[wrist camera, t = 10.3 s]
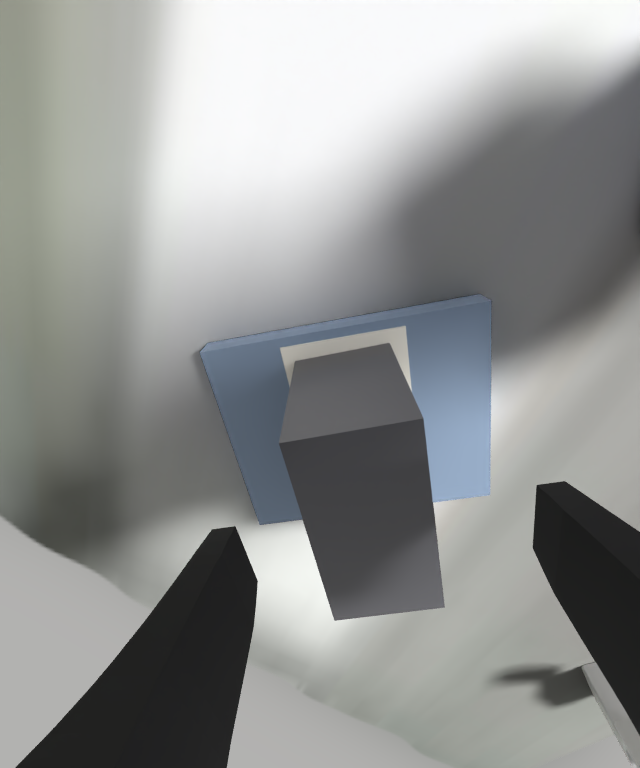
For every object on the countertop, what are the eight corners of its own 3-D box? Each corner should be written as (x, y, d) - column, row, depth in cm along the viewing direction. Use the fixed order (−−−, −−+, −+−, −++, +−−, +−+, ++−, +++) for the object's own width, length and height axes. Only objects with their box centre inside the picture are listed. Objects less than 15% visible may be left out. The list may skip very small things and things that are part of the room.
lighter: (615, 687, 29) (713, 851, 21) (592, 693, 29) (680, 856, 22) (597, 637, 26) (701, 804, 19) (571, 644, 26) (664, 810, 19)
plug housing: (389, 342, 15) (423, 418, 10) (410, 491, 19) (444, 607, 13) (294, 361, 16) (278, 443, 10) (332, 503, 19) (334, 620, 14)
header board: (480, 293, 16) (529, 323, 12) (481, 479, 20) (518, 545, 16) (207, 342, 17) (172, 384, 13) (263, 508, 21) (249, 576, 17)
